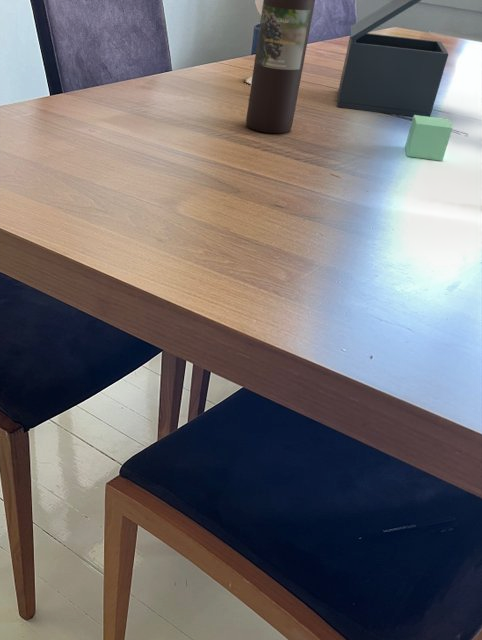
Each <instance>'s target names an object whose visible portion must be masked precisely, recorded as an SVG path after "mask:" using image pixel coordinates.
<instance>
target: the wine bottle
mask: <svg viewBox="0 0 482 640" xmlns="http://www.w3.org/2000/svg"><path fill="white" fill-rule="evenodd" d="M315 3H316V0H264V1H263V8H262V15H260V21H259V22H260V23H259V30H258V36H257V42H256V50H255V55H254V56H255V57H254V64H253V69H252V75H251V77H252V83H251V85H250V90H249V98H248V105H247V111H246V118H245V124H246V126H247V128H249V129H251V130H253V131H255V130H256V131H255V132H259V133H265V134H276V135H278V134H285V133H289V132H290V131H291V130H292V127H293V124H294V123H293V122H294V118H295V112H296V108H297V107H296V106H297V100H298V96H299V91H300V87H301V86H300V84H301V79H302V75H303V68H304V64H305V57H306V52H307V48H308V47H307V46H308V41H309V35H310V30H311V25H312V21H313V15H314V10H315V9H314V8H315Z"/></svg>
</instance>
